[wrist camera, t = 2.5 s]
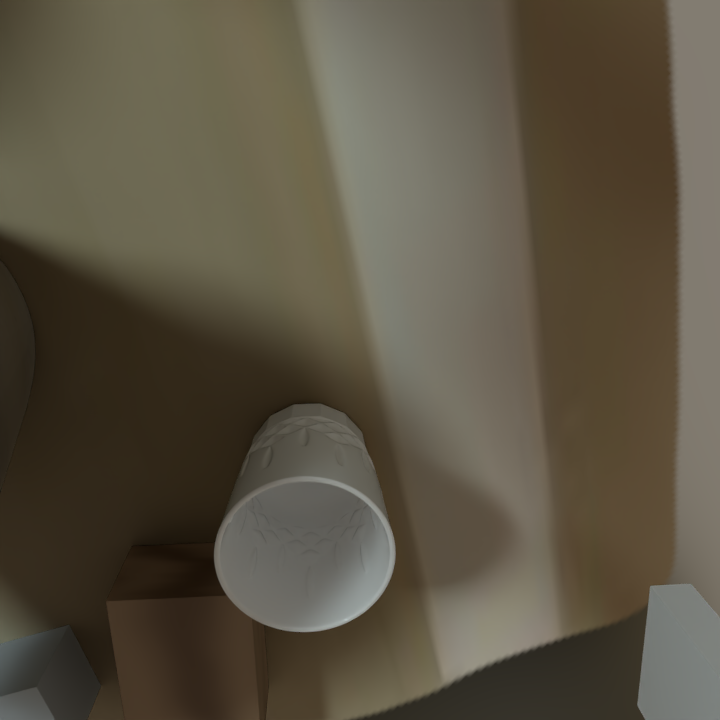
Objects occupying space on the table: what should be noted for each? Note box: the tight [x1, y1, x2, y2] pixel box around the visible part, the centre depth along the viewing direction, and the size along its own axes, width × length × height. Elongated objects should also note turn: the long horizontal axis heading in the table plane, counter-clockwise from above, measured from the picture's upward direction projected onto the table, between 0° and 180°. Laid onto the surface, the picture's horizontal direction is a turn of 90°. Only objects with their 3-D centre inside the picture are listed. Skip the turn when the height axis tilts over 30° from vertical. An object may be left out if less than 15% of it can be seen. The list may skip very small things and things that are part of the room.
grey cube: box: [0, 625, 101, 720], centre depth 39 cm, size 5×5×5 cm
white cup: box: [214, 403, 396, 632], centre depth 33 cm, size 8×8×10 cm
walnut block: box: [106, 543, 269, 720], centre depth 39 cm, size 8×11×5 cm
